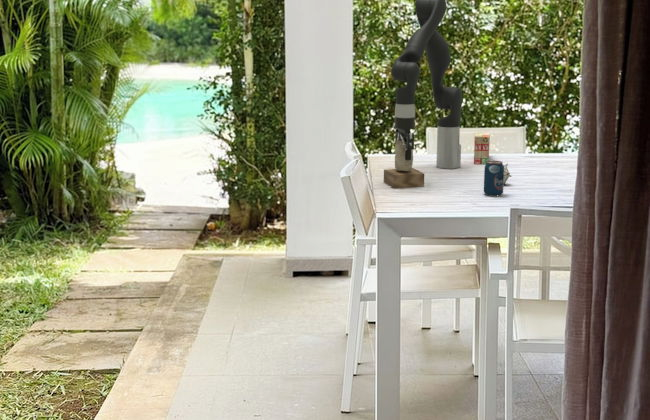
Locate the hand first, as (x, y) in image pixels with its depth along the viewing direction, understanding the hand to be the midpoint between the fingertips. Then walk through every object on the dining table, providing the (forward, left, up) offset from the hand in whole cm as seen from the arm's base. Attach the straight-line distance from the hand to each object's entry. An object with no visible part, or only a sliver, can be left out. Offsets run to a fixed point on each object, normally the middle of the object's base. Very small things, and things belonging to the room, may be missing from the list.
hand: (404, 158), depth 365 cm
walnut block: (0, 0, -10) cm, 10 cm away
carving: (0, 0, -5) cm, 5 cm away
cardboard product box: (-50, -40, -10) cm, 65 cm away
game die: (-35, +10, -10) cm, 38 cm away
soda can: (-25, +26, -10) cm, 38 cm away
